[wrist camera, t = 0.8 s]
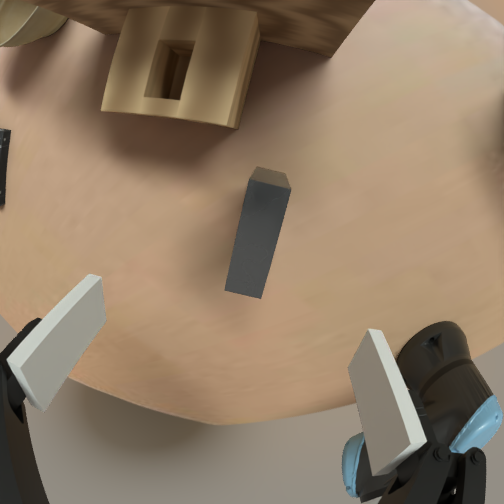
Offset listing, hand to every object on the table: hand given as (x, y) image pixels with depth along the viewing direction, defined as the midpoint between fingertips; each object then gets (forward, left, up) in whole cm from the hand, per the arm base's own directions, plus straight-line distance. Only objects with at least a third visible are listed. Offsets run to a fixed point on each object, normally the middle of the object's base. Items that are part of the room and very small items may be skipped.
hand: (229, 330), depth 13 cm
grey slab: (0, -1, -25) cm, 25 cm away
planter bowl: (+42, -28, -26) cm, 56 cm away
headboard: (+12, -17, -25) cm, 32 cm away
